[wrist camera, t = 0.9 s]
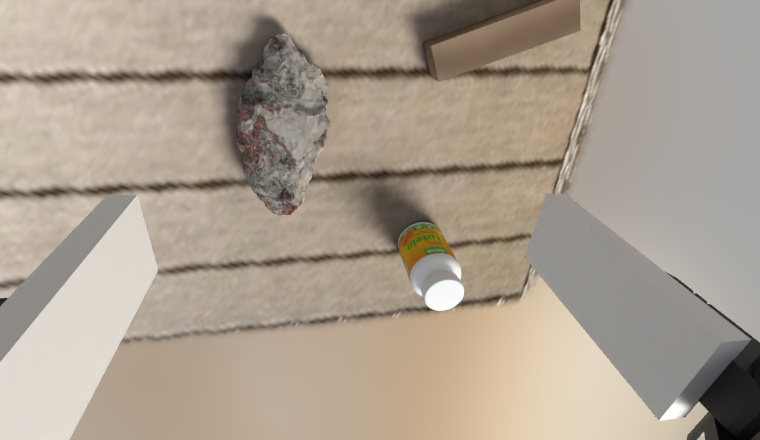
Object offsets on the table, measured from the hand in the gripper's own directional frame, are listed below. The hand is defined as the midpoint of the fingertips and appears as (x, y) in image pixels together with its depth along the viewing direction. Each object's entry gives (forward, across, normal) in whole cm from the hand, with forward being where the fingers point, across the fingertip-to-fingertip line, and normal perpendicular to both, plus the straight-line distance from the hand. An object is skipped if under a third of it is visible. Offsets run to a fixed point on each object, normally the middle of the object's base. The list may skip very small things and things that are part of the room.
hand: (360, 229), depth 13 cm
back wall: (+25, +15, +5) cm, 29 cm away
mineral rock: (+25, -4, -4) cm, 26 cm away
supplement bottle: (+25, +11, -18) cm, 32 cm away
